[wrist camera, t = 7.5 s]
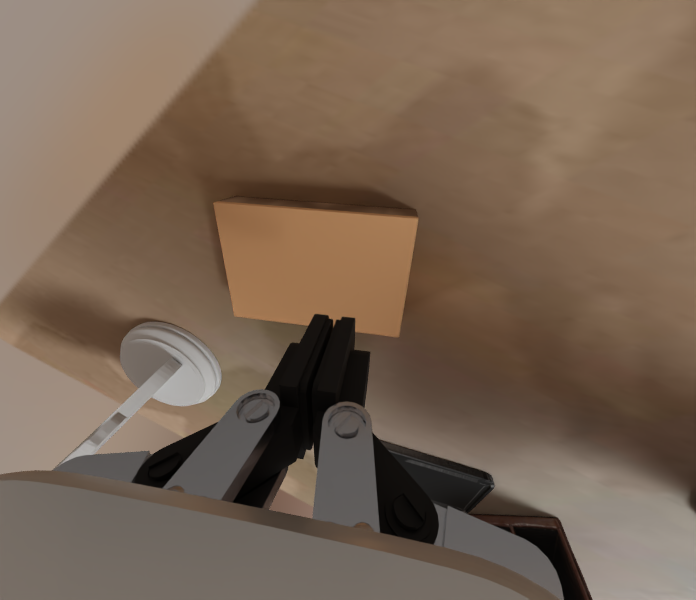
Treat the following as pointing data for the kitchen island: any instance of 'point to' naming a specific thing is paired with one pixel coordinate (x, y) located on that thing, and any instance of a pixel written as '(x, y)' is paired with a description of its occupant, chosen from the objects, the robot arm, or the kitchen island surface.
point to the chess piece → (158, 375)
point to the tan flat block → (317, 261)
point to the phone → (444, 479)
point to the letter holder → (547, 548)
